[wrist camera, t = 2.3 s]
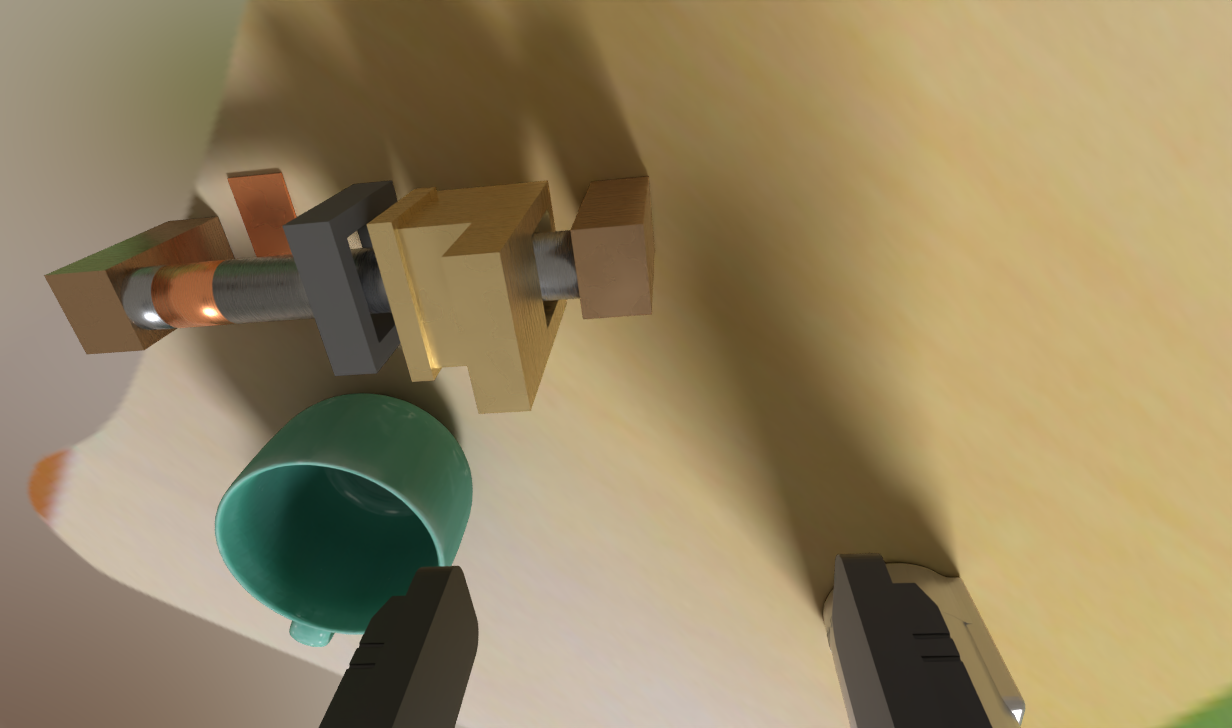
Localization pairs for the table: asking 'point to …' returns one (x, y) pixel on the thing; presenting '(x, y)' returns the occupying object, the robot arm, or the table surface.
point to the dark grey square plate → (343, 277)
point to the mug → (344, 512)
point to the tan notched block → (471, 287)
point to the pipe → (272, 288)
